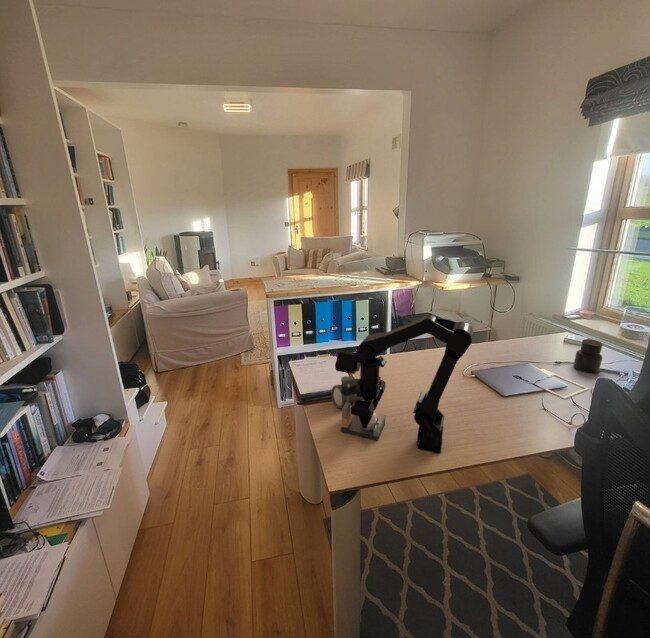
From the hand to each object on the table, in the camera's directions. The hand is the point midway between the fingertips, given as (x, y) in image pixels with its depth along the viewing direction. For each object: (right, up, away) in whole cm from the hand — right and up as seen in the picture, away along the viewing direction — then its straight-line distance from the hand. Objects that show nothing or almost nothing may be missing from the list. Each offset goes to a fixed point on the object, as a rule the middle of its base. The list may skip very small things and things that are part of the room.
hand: (368, 419), depth 112 cm
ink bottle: (+96, +11, +37) cm, 104 cm away
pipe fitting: (-5, +1, +16) cm, 17 cm away
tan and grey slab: (-6, -1, +3) cm, 7 cm away
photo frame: (+75, +6, +26) cm, 80 cm away
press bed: (-2, -3, +2) cm, 4 cm away
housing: (0, -2, +1) cm, 2 cm away
